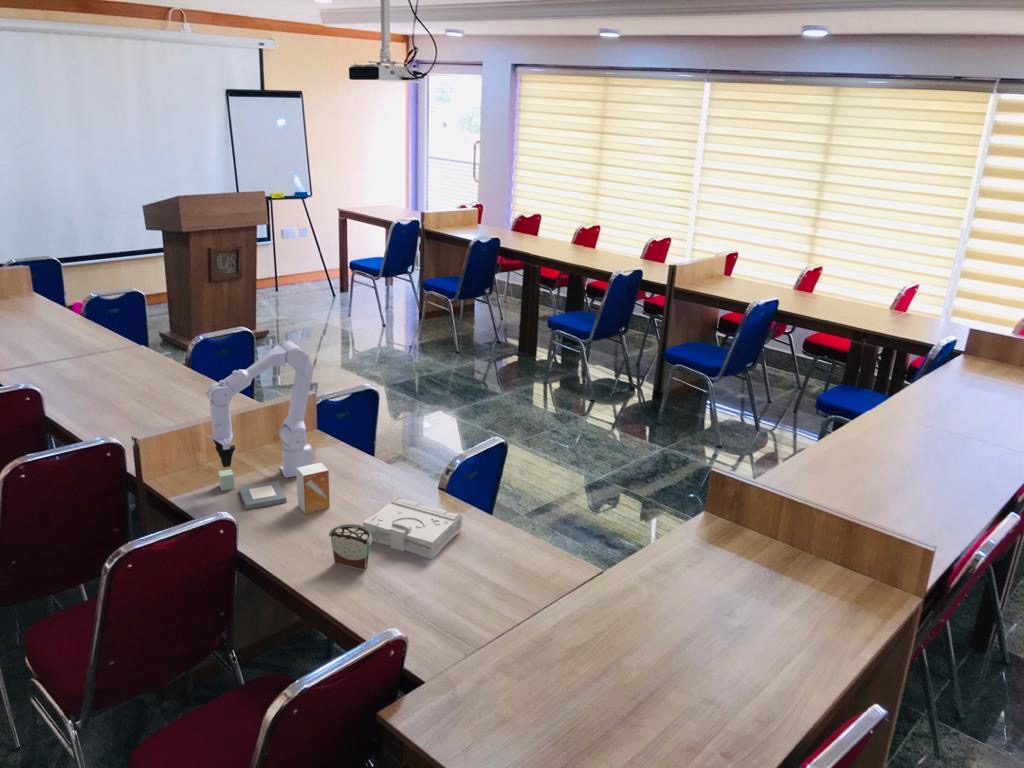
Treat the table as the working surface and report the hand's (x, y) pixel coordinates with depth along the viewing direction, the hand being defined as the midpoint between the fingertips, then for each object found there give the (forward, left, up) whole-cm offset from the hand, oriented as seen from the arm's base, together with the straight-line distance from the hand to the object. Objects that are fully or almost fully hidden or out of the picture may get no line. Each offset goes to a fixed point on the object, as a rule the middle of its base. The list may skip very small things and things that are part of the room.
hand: (224, 461), depth 263 cm
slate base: (-9, +11, -9) cm, 17 cm away
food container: (-25, +57, -9) cm, 63 cm away
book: (-43, +48, -10) cm, 65 cm away
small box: (-22, +23, -9) cm, 33 cm away
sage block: (0, 0, -9) cm, 9 cm away
